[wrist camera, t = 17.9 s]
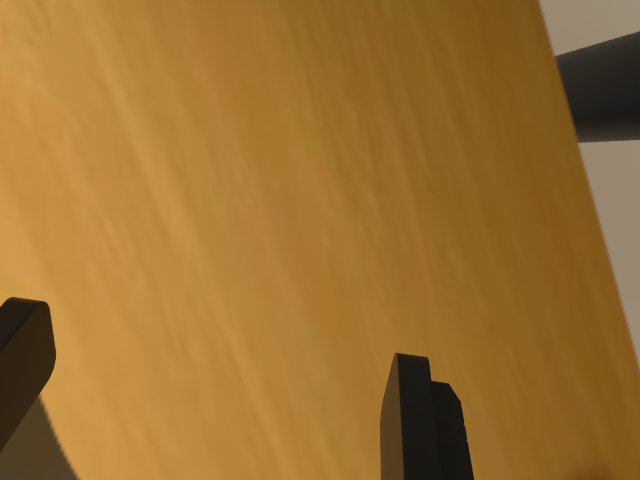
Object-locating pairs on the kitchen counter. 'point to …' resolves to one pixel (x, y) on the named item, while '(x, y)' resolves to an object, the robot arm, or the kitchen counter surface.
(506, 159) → the kitchen counter surface
